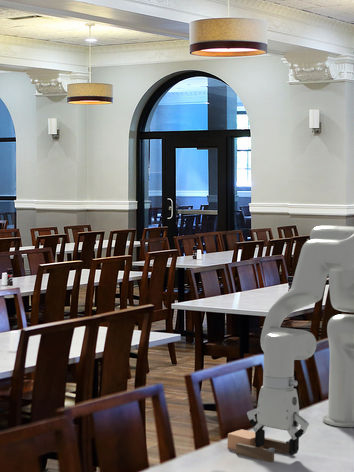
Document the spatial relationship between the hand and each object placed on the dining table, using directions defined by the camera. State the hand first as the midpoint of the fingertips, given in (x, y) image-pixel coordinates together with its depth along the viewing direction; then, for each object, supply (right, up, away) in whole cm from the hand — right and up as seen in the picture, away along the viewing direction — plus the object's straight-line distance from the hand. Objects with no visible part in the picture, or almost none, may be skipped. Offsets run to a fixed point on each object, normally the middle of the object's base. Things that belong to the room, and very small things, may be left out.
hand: (276, 450), depth 215 cm
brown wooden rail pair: (-3, -1, +2) cm, 4 cm away
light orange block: (-7, -2, +7) cm, 10 cm away
